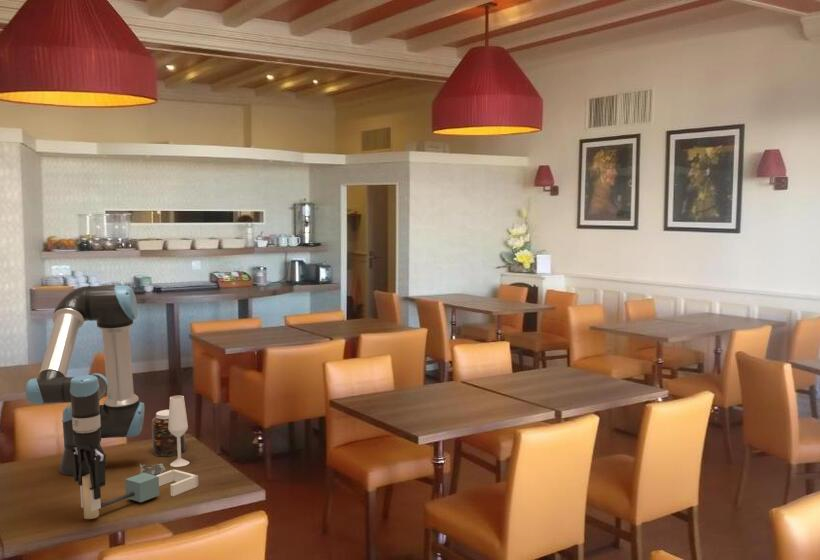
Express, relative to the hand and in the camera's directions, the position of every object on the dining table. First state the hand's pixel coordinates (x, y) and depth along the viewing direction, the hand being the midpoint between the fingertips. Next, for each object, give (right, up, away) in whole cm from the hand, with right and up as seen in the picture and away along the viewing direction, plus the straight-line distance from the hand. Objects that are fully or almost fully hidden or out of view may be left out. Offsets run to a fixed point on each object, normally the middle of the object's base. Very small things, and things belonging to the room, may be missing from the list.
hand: (91, 507), depth 227 cm
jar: (+4, +2, +62) cm, 62 cm away
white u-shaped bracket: (+16, -1, +25) cm, 30 cm away
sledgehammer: (+5, -2, +8) cm, 10 cm away
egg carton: (+6, -1, +36) cm, 36 cm away
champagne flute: (+11, +1, +49) cm, 50 cm away
